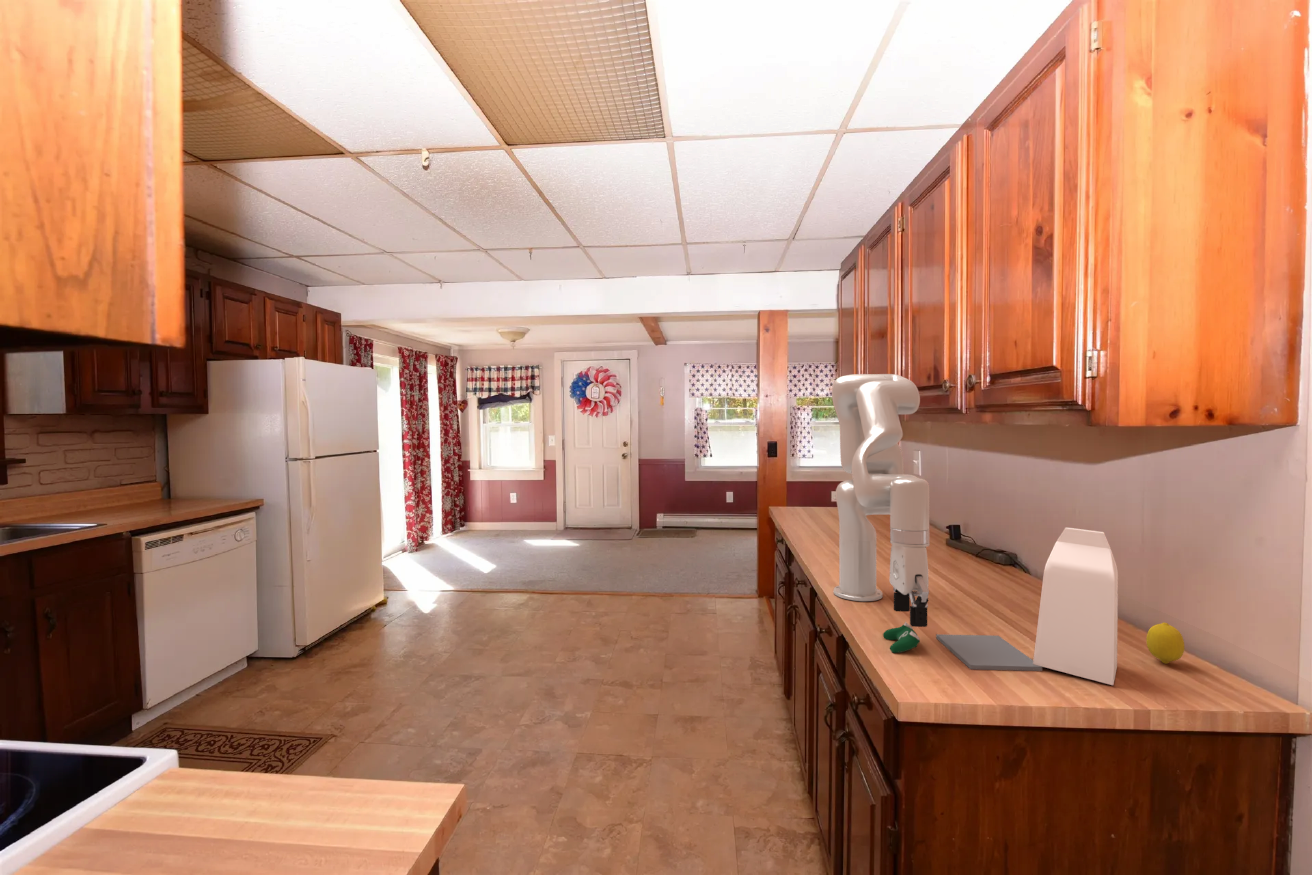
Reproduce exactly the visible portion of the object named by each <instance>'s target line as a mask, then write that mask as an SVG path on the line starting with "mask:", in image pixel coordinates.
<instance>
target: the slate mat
mask: <svg viewBox="0 0 1312 875" xmlns="http://www.w3.org/2000/svg"><path fill="white" fill-rule="evenodd" d="M935 638H936V639H937V640H938V641H939V642H940V643H941V644H942V645H943V646H944V647H945V648H946V649H947V650H949V651H950V653H952V654H953V655H954V656H955V657H957V659H958V660H960V661H961V662H962V663H963V664H964V665H965V666H966V667H967V668H968V669H969V670H985V671H986V670H987V671H990V670H991V671H1019V672H1020V671H1021V672H1022V671H1023V672H1024V671H1025V672H1027V671H1028V672H1043V667H1042V666H1038V665H1035V664H1033V660H1034V659H1032V658H1031V657H1029V656H1028V655H1026V654H1025V653H1024V652H1022V651H1021V650H1020V649H1018V648H1016V647H1015V646H1014V645H1012V644H1011V643H1009V642H1008V641H1007V640H1006V639H1004V638H1003V637H1001V636H1000V635H991V634H990V635H985V634H983V635H981V634H980V635H979V634H942V633H941V634H938V633H937V634H936V635H935Z"/></svg>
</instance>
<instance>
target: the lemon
mask: <svg viewBox="0 0 1312 875" xmlns="http://www.w3.org/2000/svg"><path fill="white" fill-rule="evenodd" d="M1145 639H1146V642H1145V643H1146V646H1147V647H1146V648H1147V649H1148V651H1149V653H1150V654H1151V655H1152V656H1153V657H1154V658H1156V659H1157V660H1159V661H1160V662H1161V663H1162V664H1164V665H1166V664H1169V663H1172V662H1175V661H1176V662H1177V661H1178V660H1180V659H1181V657H1182V656H1183V655H1184V653H1185V641H1184V640H1185V639H1184V637H1183V635H1182V634H1181V632H1180V631H1179V630H1178V629H1177V628H1176V627H1174V626H1172V625H1170V624H1169V623H1167V622H1161V623H1157V624H1154V625H1152V626H1151V627H1150V628H1149V629H1148V631H1147V634H1146V638H1145Z"/></svg>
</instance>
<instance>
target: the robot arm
mask: <svg viewBox="0 0 1312 875" xmlns="http://www.w3.org/2000/svg"><path fill="white" fill-rule="evenodd" d="M831 389H832V391H831V399H832V404H833V407H834V411H835V413H836V416H837V420H838V424H839V450H840V452H839V453H840V464H841V468H842V470H843V472H845V473H846V474H850V475H851V477H852V479H847V480H844V481H841V482H840V483H838V484H837V487H836V488H835V500H836V506H837V514H838V523H839V524H838V526H839V528H838V529H839V534H838V535H839V536H838V538H839V541H838V542H839V545H838V546H839V547H838V548H839V552H838V553H839V554H838V555H839V558H838V560H839V571H838V572H839V585H836V586H835V587H833V594H834V595H835V596H836V597H838V598H841V599H844V600H849V601H855V602H874V601H875V602H876V601H878V600H881V599H882V598H883V592H882V590H880V589H879V588H877V531H876V528H875V526H874V525H873V523H872V522H871V521H870V520H869V519H868V517H867V516H871V515H889V523H890V524H889V529H890V531H889V532H890V534H889V535H890V538H889V539H890V541H889V542H890V544H891V547H890V559H889V561H890V562H889V583H890V585H891V586H892V587H893V588H892V590H893V611H895V612H903V613H904V612H909V625H910V626H911V627H912V628H917V627H918V628H926V627H928V606H929V594H930V590H929V564H928V563H929V562H928V553H927V552H928V551H927V547H929V546H930V485H929V482H928V481H927V480H926V479H924V478H919V477H918V476H916V475H914V474H913V475H912V474H905V472H904V455H903V450H902V448H901V446H900V445H899V442H900V441H901V440H902V438H903V436H904V432H903V428H902V425H901V421H900V417H899V415H912V414H914V413H916V412H918V411H917V410H918V409H919V406H920V403H921V396H920V392H919V389H918V387H917V385H916V384H915V383H914V381H912V380H911V379H908V378H906V377H903V376H902V375H899V374H897V373H896V374H894V373H893V374H892V373H879V374H878V373H876V374H875V373H874V374H873V373H871V374H870V373H869V374H868V373H856V374H847V375H842V376H839V377H838V378H836V379H835V381H833V384H832V388H831ZM916 597H917V598H916ZM910 602H911V603H910Z"/></svg>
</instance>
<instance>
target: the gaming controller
mask: <svg viewBox="0 0 1312 875" xmlns="http://www.w3.org/2000/svg"><path fill="white" fill-rule="evenodd" d="M882 637H883V638H884V640H887V641H888V640H889V641H890V640H891V641H894V642H893V643H892V644H891V645H890V647H889V651H891V653H893V654H899V653H904V652H908V651H910V650H912V649H914V648H917V647H918V645H919V643H920V640H921V639H920V637H919V636H918V634H917V633H916V631H915V630H914V627H912V626H911V625H910V623H908V622H907V621H904V623H903V624H902V625H901V626H899V627H893V628H889V629H887V630H885V631H884V632H883V633H882Z"/></svg>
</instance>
